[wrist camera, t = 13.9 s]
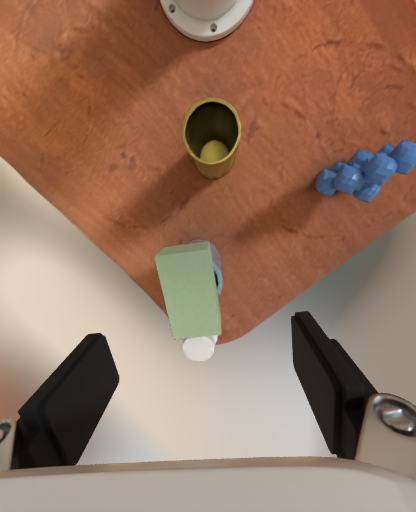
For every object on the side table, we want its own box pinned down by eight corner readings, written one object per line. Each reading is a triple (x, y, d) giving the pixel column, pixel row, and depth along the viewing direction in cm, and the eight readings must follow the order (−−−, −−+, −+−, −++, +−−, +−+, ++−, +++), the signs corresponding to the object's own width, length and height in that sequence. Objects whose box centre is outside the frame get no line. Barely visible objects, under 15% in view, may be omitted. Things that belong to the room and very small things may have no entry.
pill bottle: (192, 326, 41) (184, 367, 31) (183, 301, 39) (172, 336, 30) (220, 321, 40) (221, 361, 31) (213, 295, 39) (212, 329, 29)
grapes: (304, 214, 34) (349, 227, 22) (293, 172, 32) (335, 163, 21) (381, 186, 32) (472, 184, 20) (374, 140, 30) (469, 109, 19)
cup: (173, 242, 36) (158, 258, 28) (218, 236, 35) (218, 250, 27) (181, 283, 38) (170, 310, 30) (224, 278, 38) (225, 304, 29)
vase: (239, 140, 31) (256, 100, 17) (228, 183, 33) (235, 177, 19) (199, 129, 31) (183, 81, 17) (190, 173, 33) (170, 161, 19)
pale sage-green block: (163, 247, 27) (153, 256, 23) (209, 240, 26) (207, 249, 23) (179, 320, 30) (173, 339, 26) (221, 316, 30) (221, 335, 26)
